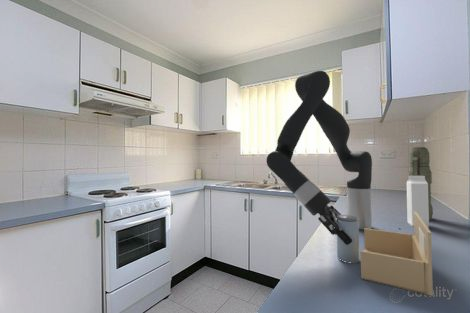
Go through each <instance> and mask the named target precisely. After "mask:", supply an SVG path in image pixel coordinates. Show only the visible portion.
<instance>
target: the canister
mask: <svg viewBox="0 0 470 313" xmlns="http://www.w3.org/2000/svg"><path fill="white" fill-rule="evenodd" d="M337 219H338V221H339V225H340V227H341V228H342V230H344V231H345V233H346V234H347V235H348V236H349V237H350V238H351V239H352V242H351V243H350V244H348V245H346V244H345V243H344V242H343V241H342V240H341V239H340V238H339V237H338V236H337V235H336V248H337V250H336V251H337V252H336V253H337V254H336V258H337V257H338V258H339V259H341V260H343V261H346V262H351V263H355V264H359V263H360V240H359V239H360V238H359V237H360V236H359V235H360V234H359V233H360V231H359V230H360V229H359V222H358V220H357V217H355V216H352V215H348V214H341V215H338V218H337ZM338 258H337V259H338ZM339 259H338V260H339ZM351 263H350V264H351Z"/></svg>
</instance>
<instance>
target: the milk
mask: <svg viewBox="0 0 470 313" xmlns="http://www.w3.org/2000/svg"><path fill="white" fill-rule="evenodd" d="M406 212H407V213H406V214H407V215H406V216H407V217H406V218H407V219H406V220H407V221H406V222H407V224H409V225H410V226H411V227H414V212H417V214H418V215H419V216H420V218H421V219H422V220H423V222H424V223H425V225H426V226H427V227H428V229H429V228H430V220H429V205H428V183H427V182H426V180H425V176H409V175H408V179H407V181H406Z"/></svg>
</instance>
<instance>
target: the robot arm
mask: <svg viewBox="0 0 470 313" xmlns="http://www.w3.org/2000/svg"><path fill="white" fill-rule="evenodd" d="M294 85H295V86H294V87H295V92H296V94H297V96H298V97H299V98H300V100H301V101H302V102H301V104H300V105H299V106H298V108H296V110H295V111H294V112H293V113H292V114H291V115H290V117H289V118H288V119H287V120H286V122H284V124H283V127H282V129H281V131H280V133H279V135H278V138H277V140H276V142H277V144H276V148H275V150H274V151H271V152H270V153H269V154H268V155H267V156H266V166H267V167H268V168H269V169H270V170H271V171H272V172H273V173H274V174H275V175H276V176H277V177H278V178H279V179H280V180H282V182H283V183H284V185H285V187H287V188H288V190H289V191H291V193H292V194H293V195H294V196H295V198H296V199H297V200H298V201H299V202H300V204H302V206H304V208H305V209H306V210H307V211H308V212H309V213H310V214H311V215H312V216H316V215H318V216H319V217H318V220H319V222H320V223H321V224H322V225H323V226H324V227H325V228H326V229H327V231H329V234H331V235H332V236H336V237H337V236H338V237H339V238H340V239H341V240H342V241H343V242H344V243H345V244H346V245H348V244H350V243H351V242H352V239H351V238H350V237H349V236H348V235H347V234H346V233H345V231H344V230H342V228H341V227H340V225H339V221H338V219H337V218H338V215H342V214H341V213H340V212H339V210H337V209H336V208H335V207H334V206H333V205H329V204H330V203H331V199H330V198H329V197H328V196H327V195H326V194H325V193H324V192H323V191H322V190H321V189H320V188H319V187H318V186H317V185H316V184H315V183H314V182H312V181H311V180H310V178H308V177H307V176H306V175H305V174H304V173H303V172H302V171H300V170H299V169H298V168H297V167H296V166H295V165H294V163H293V162H292V159H293V158H292V157H293V155H294V151H295V148H296V147H297V145H298V143H299V141H300V139H301V136H302V134H303V132H304V130H305V129H306V126H307V124H308V123H309V121H310V119H311V118H312V116H313V117H314V118H315V120H316V122H317V123H318V125H319V127H320V128H321V129H322V132H323V134H324V135H325V137H326V138H327V139H328V141H329V142H330V144H331V146H332V147H333V150H334V152H335V153H336V156H337V157H338V159H339V161H340V164H341V166H342V167H343V169H344V170H345V171H346V172H349V173H357V174H358V175H357V177H355V178H353V179H349V180H347V182H346V196H347V197H346V199H347V215H352V216H355V217H357V220H358V222H359V230H363V231H364V228H367V229H373V226H372V222H373V220H372V192H371V190H372V189H371V187H372V186H371V185H372V179H373V178H372V177H373V176H372V170H373V160H372V156H371V153H370V152H368V151H351V150H350V149H349V147H348V141H349V138H350V132H351V129H350V125H349V124H348V122H347V121H346V118H345V117H344V116H343V114H342V113H341V112H340V111H338V110H337V109H336V108H334V107H333V106H331V105H330V104H329V103H327V102H326V101H325V100H324V98H325V96H326V95H327V93H328V91H329V89H330V85H331V79H330V76H329V74H328V73H327V72H326V71H325V70H315V71H311V72H307V73H305V74H304V73H303V74H302V75H299V76H297V78H296V80H295V83H294Z"/></svg>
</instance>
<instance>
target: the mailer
mask: <svg viewBox="0 0 470 313" xmlns="http://www.w3.org/2000/svg"><path fill="white" fill-rule="evenodd" d="M363 231H364V232H363V233H364V234H363V235H364V236H363V237H364V250H360V276H361V278H362V279H361V278H360V279H361V280H363V279H366V280H365V281H368V280H370V281H369V282H372V281H374V283H376V282H379V283H378V284H380V283H383V284H382V285H384V284H387V285H386V286H389V285H391V286H390V287H393V286H395V287H394V288H397V287H398V289H401V288H402V289H401V290H406V291H410V292H415V293H419V294H422V295H428V296H431V297H433V296H434V294H433V292H434V289H433V287H434V286H433V283H434V282H433V281H434V280H433V254H432V253H433V252H432V251H433V250H432V248H433V247H432V246H433V245H432V231H431V230H430V229H429V228H428V227H427V226H426V225H425V223H424V222H423V220H422V219H421V218H420V216H419V215H418V214H417V212H414V226H413V231H414V232H413V234H411V233H403V232H396V231H388V230H381V229H375V228H374V229H373V228H371V229H367V228H364V230H363Z"/></svg>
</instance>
